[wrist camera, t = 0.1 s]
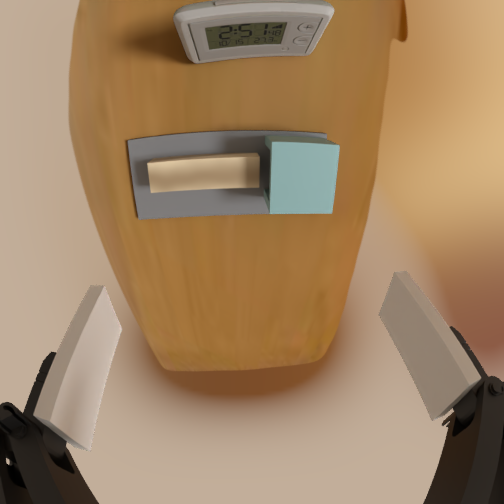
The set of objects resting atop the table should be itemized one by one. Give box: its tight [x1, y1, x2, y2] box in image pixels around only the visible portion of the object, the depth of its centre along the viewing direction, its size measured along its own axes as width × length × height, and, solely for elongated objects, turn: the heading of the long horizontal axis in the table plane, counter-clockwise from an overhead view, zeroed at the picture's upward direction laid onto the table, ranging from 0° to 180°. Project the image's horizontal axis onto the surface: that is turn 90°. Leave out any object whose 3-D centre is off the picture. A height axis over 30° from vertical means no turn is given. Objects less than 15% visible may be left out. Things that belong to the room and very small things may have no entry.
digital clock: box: [173, 0, 334, 63], centre depth 22 cm, size 16×9×11 cm, turn 84°
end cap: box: [264, 135, 340, 214], centre depth 33 cm, size 9×8×6 cm
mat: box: [128, 130, 327, 220], centre depth 36 cm, size 12×27×1 cm, turn 90°
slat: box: [147, 153, 260, 193], centre depth 33 cm, size 4×14×3 cm, turn 90°
